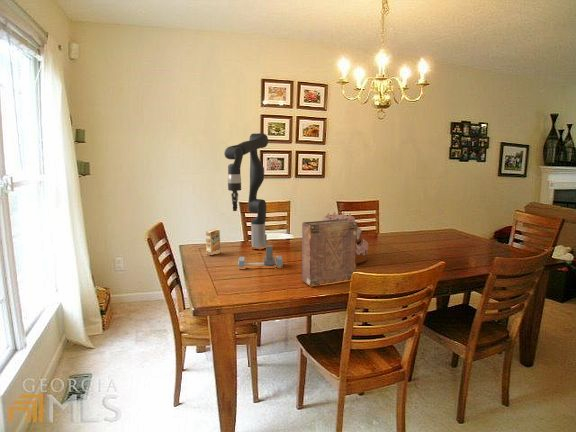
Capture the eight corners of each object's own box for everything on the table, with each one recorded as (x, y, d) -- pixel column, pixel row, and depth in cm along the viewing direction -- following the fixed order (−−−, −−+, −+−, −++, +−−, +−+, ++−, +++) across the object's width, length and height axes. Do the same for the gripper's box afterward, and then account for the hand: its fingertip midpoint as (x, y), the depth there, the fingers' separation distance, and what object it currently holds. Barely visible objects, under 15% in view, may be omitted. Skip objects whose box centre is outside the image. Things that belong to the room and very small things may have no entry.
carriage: (264, 266, 204) (264, 247, 202) (263, 263, 209) (263, 244, 208) (275, 265, 204) (275, 247, 202) (274, 262, 210) (274, 244, 208)
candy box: (211, 256, 228) (210, 232, 225) (206, 255, 230) (205, 231, 227) (220, 253, 235) (220, 229, 233) (215, 252, 238) (214, 228, 235)
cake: (368, 269, 203) (369, 219, 198) (305, 265, 210) (305, 217, 205) (367, 252, 237) (369, 209, 232) (313, 249, 244) (313, 208, 239)
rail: (238, 269, 201) (237, 261, 201) (238, 265, 209) (238, 256, 208) (283, 268, 204) (283, 259, 203) (282, 264, 212) (282, 255, 211)
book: (345, 275, 192) (347, 218, 187) (355, 280, 184) (357, 221, 179) (301, 282, 182) (302, 222, 177) (310, 288, 174) (310, 225, 169)
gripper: (240, 183, 207) (241, 211, 209) (241, 181, 221) (241, 208, 223) (227, 183, 206) (228, 211, 209) (228, 181, 220) (229, 208, 223)
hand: (235, 209), depth 216 cm, fingers open, 8 cm apart
